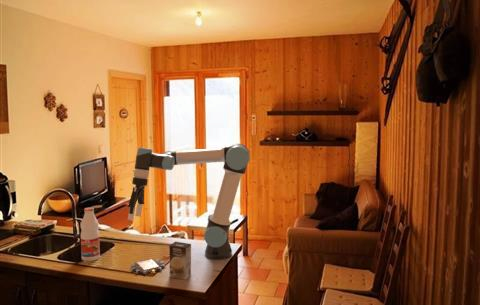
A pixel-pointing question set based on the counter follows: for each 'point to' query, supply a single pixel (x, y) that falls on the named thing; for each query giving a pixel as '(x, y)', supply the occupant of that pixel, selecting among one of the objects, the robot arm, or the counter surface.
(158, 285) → the counter surface
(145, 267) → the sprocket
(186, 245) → the coffee box
